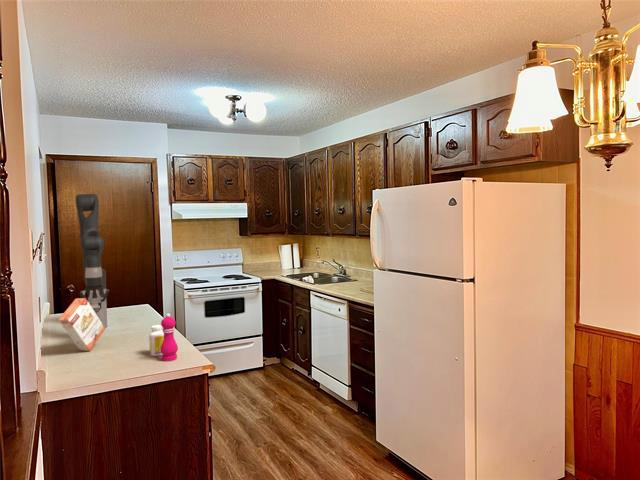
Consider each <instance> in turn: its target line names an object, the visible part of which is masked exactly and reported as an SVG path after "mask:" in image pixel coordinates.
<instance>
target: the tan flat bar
mask: <svg viewBox="0 0 640 480" xmlns="http://www.w3.org/2000/svg"><path fill="white" fill-rule="evenodd" d="M91 307H92V309H93V310H94V312H95V313H98V312H99V309H100V305H99V306H98V303H91Z"/></svg>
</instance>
